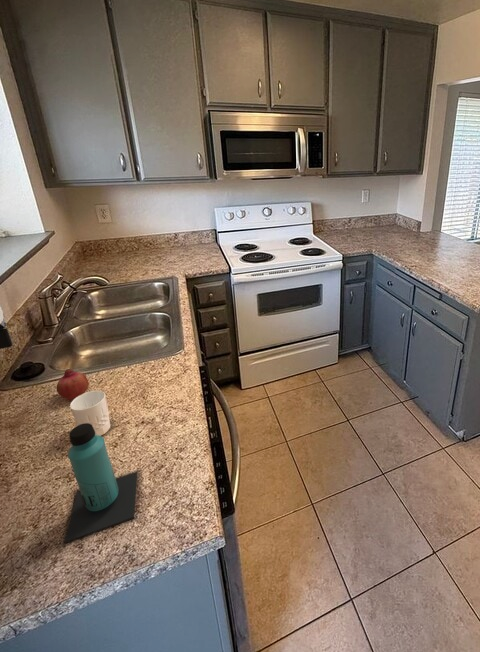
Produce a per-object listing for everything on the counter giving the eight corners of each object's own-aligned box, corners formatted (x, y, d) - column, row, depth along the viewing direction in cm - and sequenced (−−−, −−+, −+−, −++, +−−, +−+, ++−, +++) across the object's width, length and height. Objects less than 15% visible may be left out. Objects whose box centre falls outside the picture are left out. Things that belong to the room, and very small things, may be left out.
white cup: (76, 445, 92) (66, 413, 89) (82, 425, 99) (73, 395, 96) (111, 435, 95) (103, 404, 92) (114, 416, 102) (106, 387, 99)
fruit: (56, 408, 106) (47, 379, 102) (65, 392, 113) (57, 364, 110) (87, 402, 108) (79, 374, 105) (94, 386, 115) (87, 359, 112)
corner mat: (65, 543, 69) (64, 542, 69) (77, 492, 79) (77, 490, 79) (134, 518, 73) (133, 516, 73) (137, 472, 84) (137, 471, 84)
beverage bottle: (125, 487, 80) (105, 414, 73) (114, 515, 74) (91, 439, 67) (94, 492, 79) (71, 419, 72) (79, 521, 73) (53, 444, 66)
